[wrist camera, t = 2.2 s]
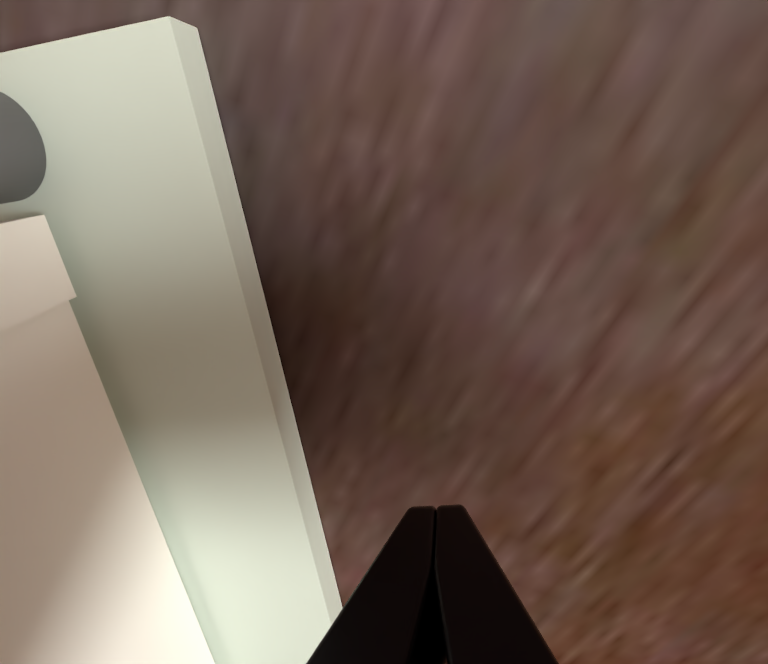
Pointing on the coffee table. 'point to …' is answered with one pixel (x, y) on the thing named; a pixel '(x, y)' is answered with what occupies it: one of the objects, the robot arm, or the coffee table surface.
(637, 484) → the coffee table surface
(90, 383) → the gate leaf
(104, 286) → the gate base
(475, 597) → the robot arm
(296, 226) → the coffee table surface
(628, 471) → the coffee table surface
